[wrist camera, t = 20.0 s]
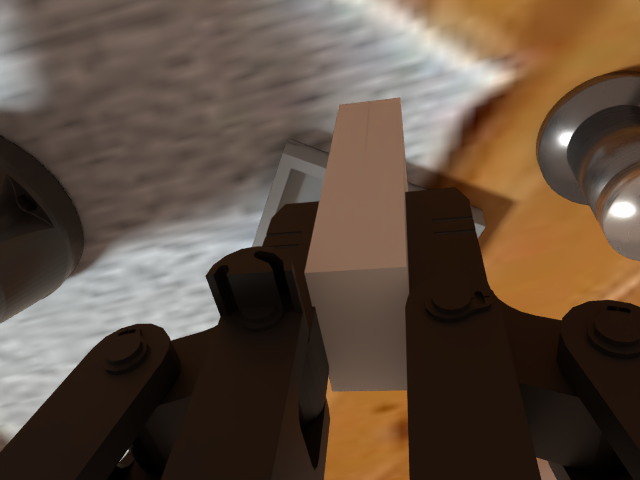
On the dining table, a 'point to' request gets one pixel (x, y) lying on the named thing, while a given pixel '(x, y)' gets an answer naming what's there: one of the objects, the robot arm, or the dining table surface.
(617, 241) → the crank
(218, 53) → the dining table surface
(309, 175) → the tray
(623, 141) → the crank hub
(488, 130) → the dining table surface
